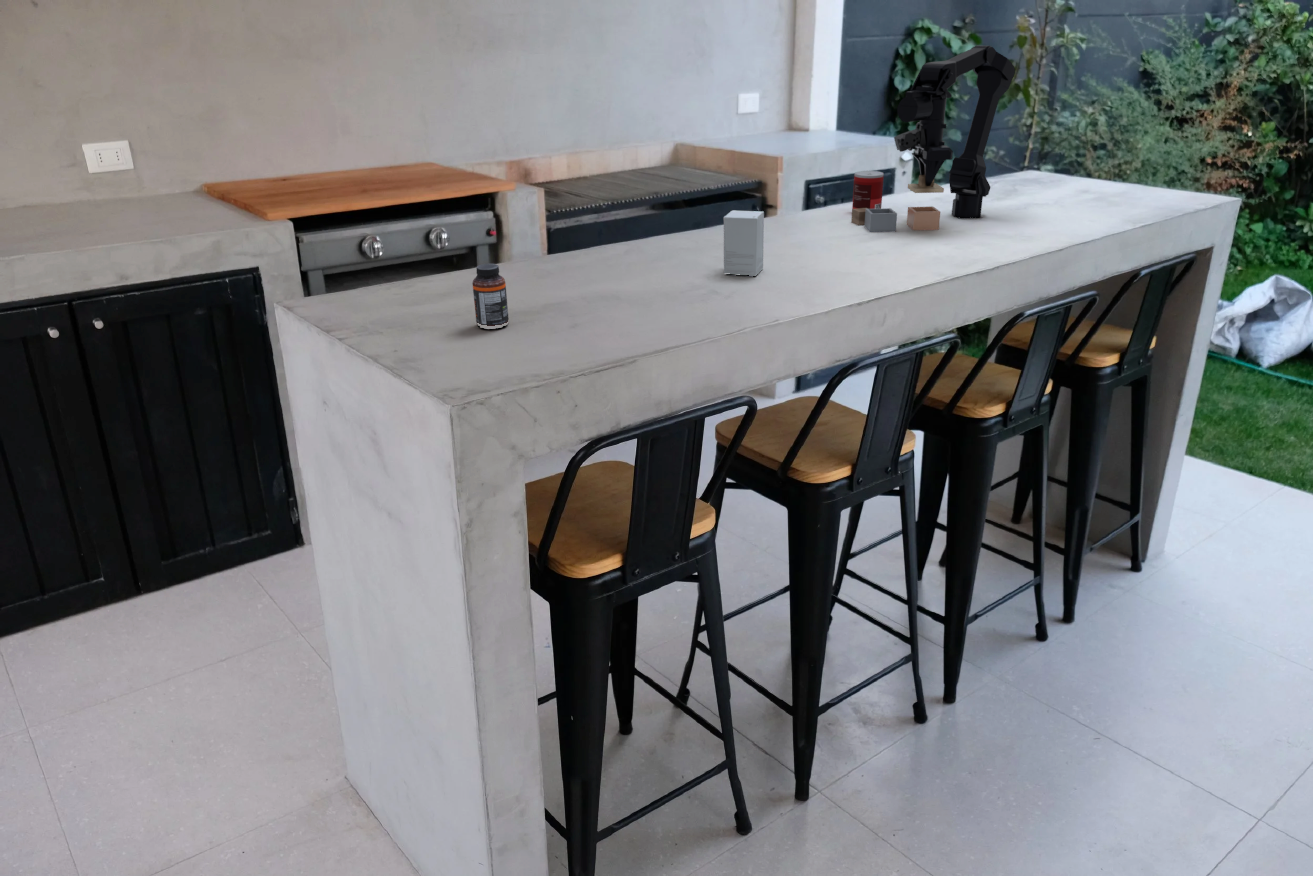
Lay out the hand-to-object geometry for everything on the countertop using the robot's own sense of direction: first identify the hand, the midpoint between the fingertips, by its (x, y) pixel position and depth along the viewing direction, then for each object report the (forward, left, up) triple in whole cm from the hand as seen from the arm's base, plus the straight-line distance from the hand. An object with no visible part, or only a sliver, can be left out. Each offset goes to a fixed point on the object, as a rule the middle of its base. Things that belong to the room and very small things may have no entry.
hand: (925, 184), depth 244 cm
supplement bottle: (+99, +71, -11) cm, 122 cm away
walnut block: (+14, -6, -11) cm, 19 cm away
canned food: (+10, -19, -11) cm, 24 cm away
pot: (0, 0, -11) cm, 11 cm away
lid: (0, 0, -1) cm, 1 cm away
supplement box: (+49, +37, -11) cm, 62 cm away
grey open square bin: (+11, +1, -11) cm, 16 cm away
